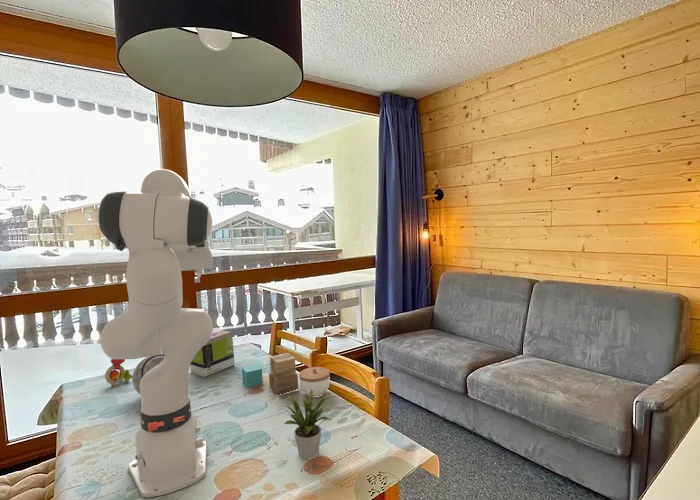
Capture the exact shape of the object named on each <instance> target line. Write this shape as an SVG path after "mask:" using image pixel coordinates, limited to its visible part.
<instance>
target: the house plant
mask: <svg viewBox="0 0 700 500" xmlns="http://www.w3.org/2000/svg"><path fill="white" fill-rule="evenodd" d="M300 394H301V396H302V402H303V404H302V405H301V407H304V413H305V414H303V412H302V410H301V408H300V405H299V403H298V401H297V400H296V399H295V398H293V396H292V395H290V394H289V393H288V394H286V395H287V396H288V398H289V399H290V401H291V402H290V403H292V405H293V407H294V409H293V408H292V407H290V406H288V405H285V407H286V408H288V409H289V410H290V411H291V412H292V413H293V414H290V417H291V419H289V420H286V421H285V422H284V423H283V425H297V427H296V428H295V429H294V433H293V434H294V438H295V444H296V448H297V452H298V456H299V457H300V458H301V457H302V458H301V459H303V458H305V459H304V460H310V459H309V458H312V459H314V458H313V457H315V456H316V455H317V454H318V455H319V452H320V443H321V438H322V437H321V436H322V427H321V426H320V425H321V424H322V423H323V422H325V421H327V420H328V421H330V422H331V420H332V419H331V418H329V417H327V416H321V415H322V414H323V413H324V412H327V411H328V410H327V409H324V408H326V406H327V404H333V402H332V401H326V400H328V399H329V397H328V396H330V395H331V394H332V392H329V393H328V394H326V395H323V396H322V398H321V399H319V400H317V401H315V402H314V398H313V391H312V389H311V392H310V394H309V396H307V400H306V398H305V395H304V394H303V393H300ZM325 401H326V402H325ZM315 404H316V405H315ZM313 406H315V407H313ZM304 416H305V417H304ZM320 420H322V421H321V422H319V421H320ZM317 422H319V424H316V423H317ZM318 455H317V456H318ZM317 456H316V457H317ZM316 457H315V458H316Z"/></svg>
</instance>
